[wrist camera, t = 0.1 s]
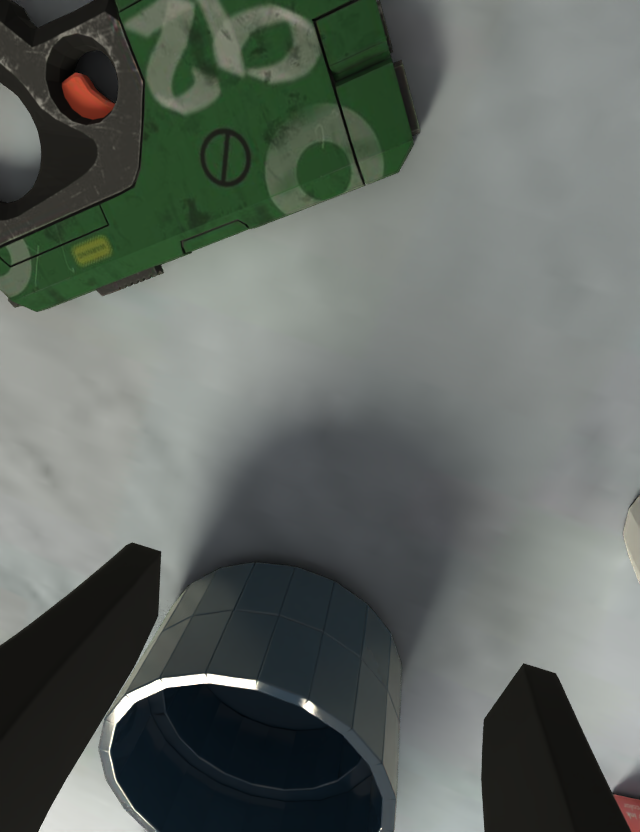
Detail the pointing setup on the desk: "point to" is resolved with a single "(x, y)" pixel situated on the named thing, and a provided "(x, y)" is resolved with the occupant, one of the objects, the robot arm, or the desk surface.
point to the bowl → (260, 710)
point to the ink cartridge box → (630, 811)
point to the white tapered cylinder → (633, 536)
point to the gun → (190, 130)
